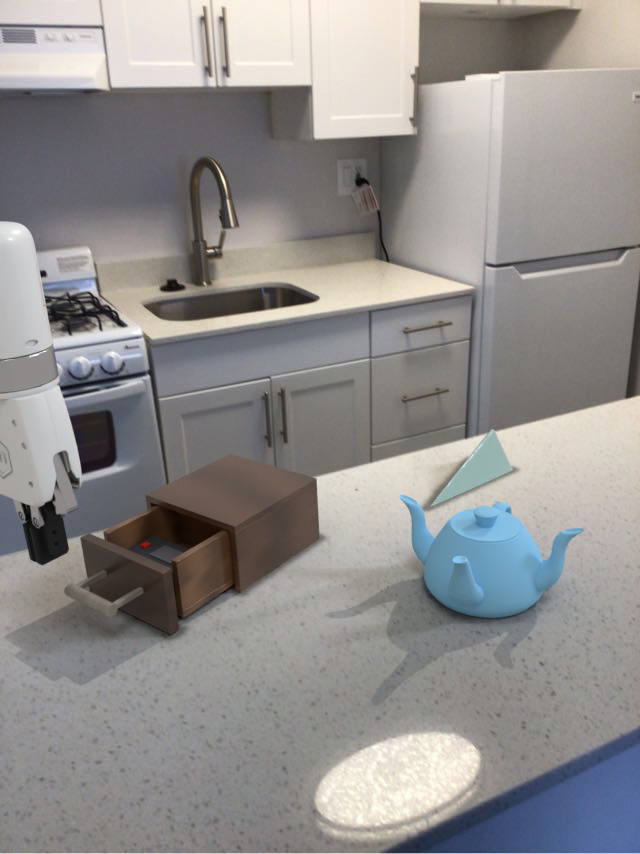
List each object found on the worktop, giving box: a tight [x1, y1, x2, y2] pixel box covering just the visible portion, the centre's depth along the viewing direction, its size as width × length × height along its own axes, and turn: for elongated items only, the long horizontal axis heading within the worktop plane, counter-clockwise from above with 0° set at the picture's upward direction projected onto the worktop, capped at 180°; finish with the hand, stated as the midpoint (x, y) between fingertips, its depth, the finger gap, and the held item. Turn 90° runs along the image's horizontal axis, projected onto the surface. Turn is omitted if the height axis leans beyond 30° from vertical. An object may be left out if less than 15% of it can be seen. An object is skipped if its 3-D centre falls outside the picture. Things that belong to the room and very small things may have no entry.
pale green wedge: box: [429, 428, 514, 507], centre depth 107 cm, size 8×6×18 cm
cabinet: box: [145, 453, 321, 594], centre depth 93 cm, size 15×15×9 cm
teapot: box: [398, 494, 585, 619], centre depth 82 cm, size 15×15×10 cm
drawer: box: [63, 505, 235, 635], centre depth 83 cm, size 18×13×7 cm
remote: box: [127, 535, 189, 596], centre depth 85 cm, size 4×10×3 cm, turn 53°
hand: (50, 556), depth 72 cm, fingers closed
